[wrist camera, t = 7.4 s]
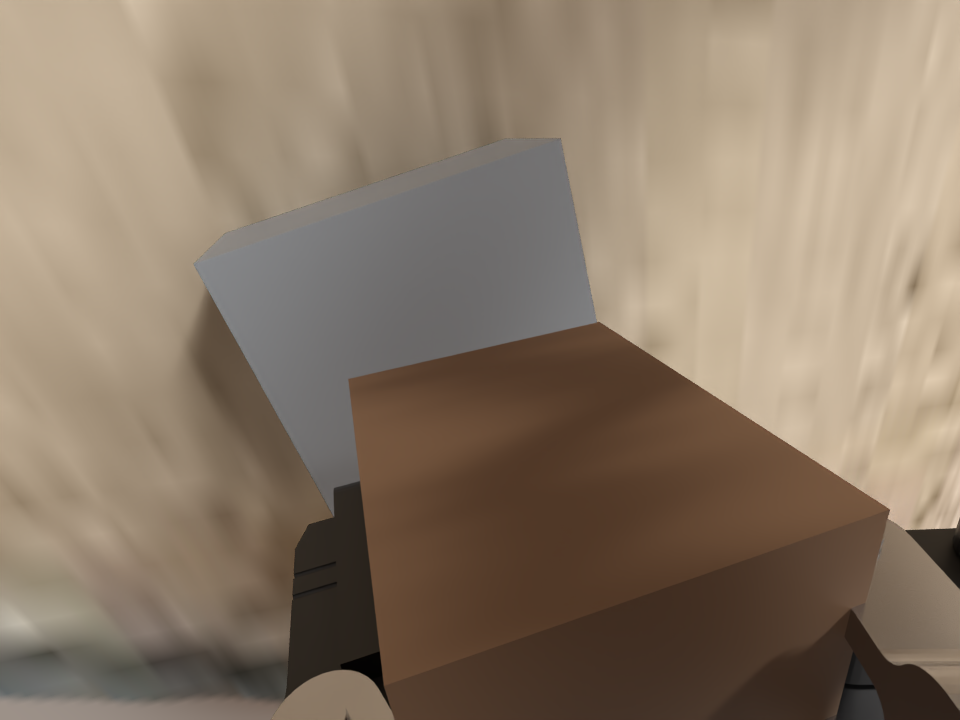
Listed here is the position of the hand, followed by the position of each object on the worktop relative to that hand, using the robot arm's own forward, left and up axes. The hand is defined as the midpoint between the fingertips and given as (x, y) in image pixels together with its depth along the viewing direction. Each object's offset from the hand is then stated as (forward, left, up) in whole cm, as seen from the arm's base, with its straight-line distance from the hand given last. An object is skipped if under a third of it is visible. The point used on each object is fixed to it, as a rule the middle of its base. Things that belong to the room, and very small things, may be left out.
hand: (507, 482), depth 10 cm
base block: (0, 0, -11) cm, 11 cm away
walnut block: (0, 0, -1) cm, 1 cm away
